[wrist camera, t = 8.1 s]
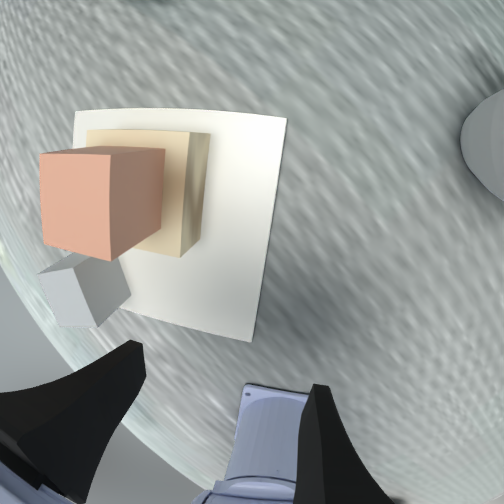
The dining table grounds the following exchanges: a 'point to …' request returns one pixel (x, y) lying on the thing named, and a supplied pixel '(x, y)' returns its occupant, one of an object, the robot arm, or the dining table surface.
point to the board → (208, 220)
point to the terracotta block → (101, 198)
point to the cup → (486, 143)
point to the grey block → (84, 290)
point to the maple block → (169, 183)
